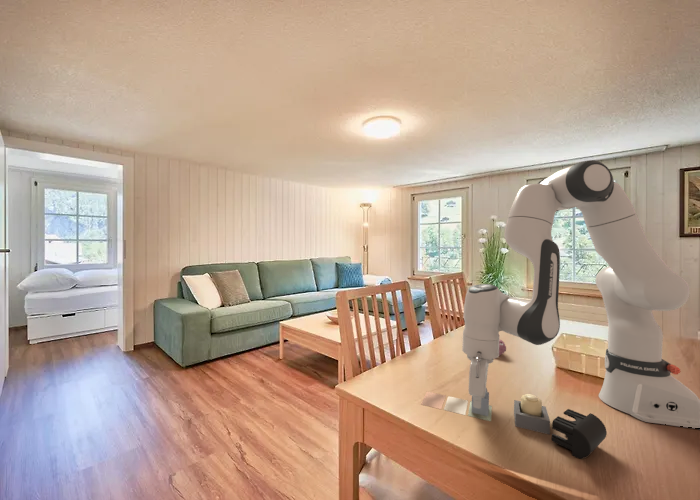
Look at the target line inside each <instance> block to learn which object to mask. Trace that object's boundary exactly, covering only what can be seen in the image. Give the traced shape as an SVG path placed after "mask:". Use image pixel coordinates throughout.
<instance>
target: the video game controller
mask: <svg viewBox="0 0 700 500" xmlns="http://www.w3.org/2000/svg"><path fill="white" fill-rule="evenodd" d="M505 352H507V346H506V344H505V342H504V341H503V340H502V339H500V338H499V356H501V355H502V354H505ZM499 356H498V357H499Z"/></svg>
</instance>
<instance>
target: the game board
mask: <svg viewBox="0 0 700 500" xmlns="http://www.w3.org/2000/svg"><path fill="white" fill-rule="evenodd" d="M446 396H447V395H446V394H441V393H435V392H432V391H426V393H425V395H424V397H423V399H422V400H421V404H420V405H422V406H425V407H430V408H434V409H439V410H443V411H445V412H450V413H455V414H458V415H459V414H460V415H463V416H468V417H471V418H476V419H480V420H483V421H487V422H492V413H493V412H492V409H493V408H492V405H490V404H489V413H488V416H484V415H480V414H476V413H472V412H471V411H472V400H470V402H469V400H468V399H463V398H460V397H459V398H458V397H455V396H449V395H448V396H447V399H446ZM445 399H446V401H445ZM444 403H445V405H444ZM468 404H469V407H468ZM443 405H444V408H443ZM442 408H443V409H442ZM467 408H468V413H467ZM466 413H467V415H466Z"/></svg>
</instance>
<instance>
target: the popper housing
mask: <svg viewBox="0 0 700 500" xmlns="http://www.w3.org/2000/svg"><path fill="white" fill-rule="evenodd" d="M513 402H514V403H513V416H514V424H515V427H517V428H521V429H526V430H528V431H533V432H538V433H542V434H545V435H550V434H551V433H550V432H551V430H550V429H551V420H550V417H549V412H548V409H547V406H545V405H542V415H541V417H538V416H534V415H529V414H525V413H521V400H516V399H514V401H513Z"/></svg>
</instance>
